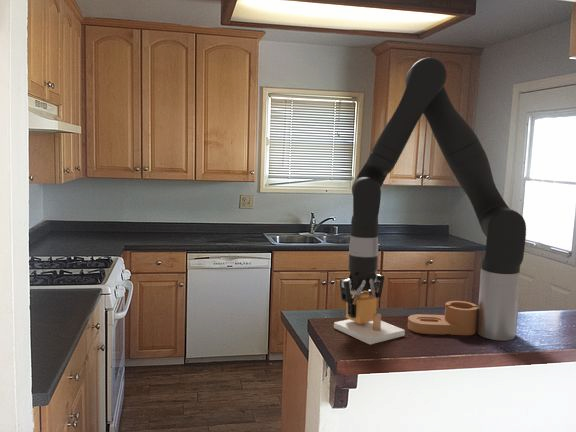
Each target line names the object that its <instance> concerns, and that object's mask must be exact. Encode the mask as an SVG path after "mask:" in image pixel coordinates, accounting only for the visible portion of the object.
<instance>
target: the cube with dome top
mask: <svg viewBox="0 0 576 432" xmlns="http://www.w3.org/2000/svg"><path fill="white" fill-rule="evenodd" d="M353 297H354V295H353ZM352 299H353V298H352ZM377 302H378V298H375V297H371V296H369V293H368V292H364V291H363V292H361V295H360V296H359V297H358V299H357V302H356V317H355V318H351V317H349V315H348V303H347V302H345V303H346V305H345V318H346V319H347V320H348V319H350V320H352V321H355V322H357V323H359V324H361V323H366V322H370V321H373V314H374V313H377V306H378V305H377V304H378V303H377Z"/></svg>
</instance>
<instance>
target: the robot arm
mask: <svg viewBox="0 0 576 432" xmlns="http://www.w3.org/2000/svg"><path fill="white" fill-rule="evenodd" d="M447 75H448V74H447V69H446V67H445V65H444V63H443V62H442V61H441V60H440V59H438V58H435V57H425V58H421V59H419V60H417V61H416V62H414V64H412V65H411V67H410V69H409V70H408V71H407V73H406V76H405V89H404V92H403V95H402V96H401V99H400V101H399V103H398V105H397V107H396V109H395V111H394V112H393V114H392V116H391V117H390V119H389V121H387V124H386V125H385V127H384V129H382V131H381V133H380V135H379V136H378V138H377V140H376V142H375V143H374V145H373V148H372V150H371V152H370V153H369V156H368V158H367V161H366V162H365V163H364V165H363V167H362V168H361V170H360V171H359V173H358V174H357V176H356V178H355V180H354V181H353V183H352V186H351V193H352V198H353V199H352V205H353V206H352V217H351V221H350V222H351V223H350V239H349V245H348V246H349V247H348V248H349V249H348V250H349V251H348V270H349V276H348V278H346V279H340V280H339V288H340V297H341V301H342V302H345V303H346V302H347V303H348V315H349V317H351V318H355V317H356V302H357V299H358V297H359V296H360V295H361V292H368V293H369V296H371V297H375V298H377V299H378V298H381V297H382V293H383V289H384V288H383V287H384V282H385V276H384V275H382V274H377V273H376V272H377V271H378V264H379V263H378V262H379V261H378V260H379V259H378V258H379V237H378V236H379V213H380V208H381V207H380V206H381V199H382V197H381V195H382V190H381V187H382V186H383V184H384V182H385V180H386V179H387V177H388V175H389V174H390V173H391V172H392V171H393V169H394V168H395V166H396V165H397V163H398V161H399V158H400V157H401V156H402V153H403V151H404V149H405V147H406V145H407V143H408V142H409V140H410V137H411V136H412V133H413V132H414V130H415V127H416V126H417V124H418V122H419V120H420V118H422V116H423V115H424V117H425V118H426V121H427V122H428V125H429V127H430V129H431V131H432V133H433V137H434V138H435V140H436V143H437V145H438V147H439V149H440V151H441V153H442V155H443V158H444V159H445V161H446V163H447V165H448V167H449V169H450V170H451V172H452V174H453V175H454V177H455V178H456V180H457V182H458V183H459V186H460V187H461V188H462V190H463V191H464V193H465V194H466V196H467V198H468V199H469V201H470V203H471V206H472V208H473V210H474V213H475V216H476V218H477V220H478V223H479V227H480V228H481V231H482V233H483V234H484V236H485V237H486V240H485V241H486V243H485V251H484V256H483V257H482V258H481V261H480V263H481V264H480V277H479V278H480V279H479V293H478V294H479V295H478V305H477V307H478V320H477V333H476V334H477V335H479V336H480V337H481V338H482V337H483V338H484V339H485V338H486V339H489V340H492V341H502V342H503V341H505V342H507V341H512V340H514V339H515V338H516V337H515V336H516V335H517V331H518V329H517V328H518V317H519V303H520V300H519V299H518V298H519V297H518V296H519V287H520V286H519V285H520V284H519V282H520V271H521V266H522V263H523V260H524V256H525V248H526V247H525V246H526V236H527V224H526V220H525V219H524V217H523V215H521V213H519V212H517V211H516V210H514V209H511V208H510V207H509V206H508V204H507V203H506V201H505V200H504V198H503V196H502V195H501V193H500V191H499V190H498V188H497V186H496V184H495V180H494V177H493V172H492V169H491V164H490V162H489V159H488V156H487V154H486V152H485V149H484V147H483V145H482V142H481V141H480V139H479V137H478V136H477V134H476V133H475V131H474V129H472V126H470V125H469V124H468V122H467V121H466V120H465V119H464V118H463V117H462V116H461V114H460V113H459V112H458V110H456V108H455V107H454V105H453V103H452V102H451V101H452V100H451V99H450V97H449V95H448V93H447V91H446V88H445V84H446V82H447ZM353 295H354V297H353ZM352 298H353V299H352Z"/></svg>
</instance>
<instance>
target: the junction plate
mask: <svg viewBox="0 0 576 432" xmlns="http://www.w3.org/2000/svg"><path fill="white" fill-rule="evenodd" d="M333 329H335V330H337V331H340V332H341V333H344V334H346V335H348V336H351V337H353V338H355V339H357V340H359V341H361V342H362V343H363V342H364V343H366V344H368V345H374V344H377V343H382V342H385V341H389V340H394V339H397V338H400V337H405V334H406V333H405V329H404V328H401V327H398V326H396V325H392V324H390V323H388V322H385V321H384V320H382V314H381V313H379V312H378V313H377V312H376V313H374V314H373V321H370V322H366V323H361V324H359V323H357V322H355V321H352V320H350V319H348V318H347V319H344V320H339V321H335V322H333Z"/></svg>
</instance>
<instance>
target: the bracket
mask: <svg viewBox="0 0 576 432" xmlns="http://www.w3.org/2000/svg"><path fill="white" fill-rule="evenodd" d="M444 308H445V310H444V314H419V313H418V314H417V313H416V314H410V315H409V316H408V317H407V328H408V330H409V331H412V332H413V333H417V334H425V335H445V334H451V336H454V335H456V336H472V335H475V334H477V333H476V332H477V321H478V305H477V304H476V303H472V302H469V301H463V300H450V301H447V302H445V307H444Z"/></svg>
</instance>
